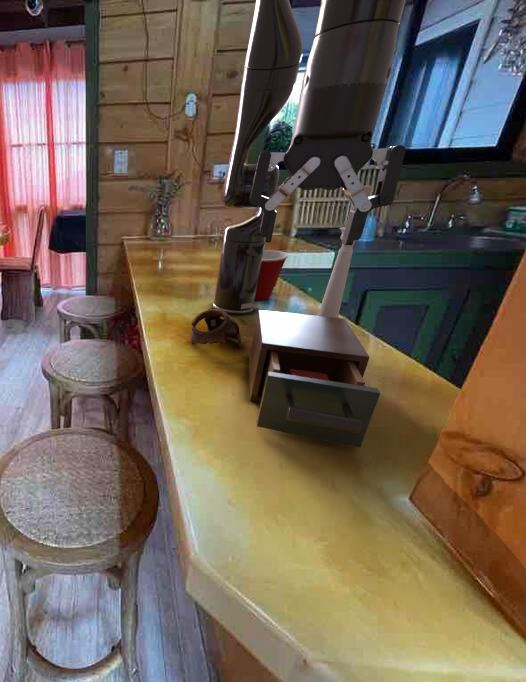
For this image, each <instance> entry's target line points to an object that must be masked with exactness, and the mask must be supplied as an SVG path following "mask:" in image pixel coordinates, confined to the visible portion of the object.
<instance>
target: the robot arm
mask: <svg viewBox="0 0 526 682" xmlns="http://www.w3.org/2000/svg"><path fill="white" fill-rule="evenodd" d="M406 1H407V0H321V1H320V6H319V13H318V16H317V21H316V26H315V32H314V39H313V42H312V45H311V49H310V52H309V55H308V58H307V62H306V65H305V69H304V75H303V78H302V83H301V90H300V94H299V100H298V105H297V110H296V115H295V121H294V125H293V129H292V135H291V139H290V144H289V146H288V148H287V150H286V151H283V152H282V151H270V150H267V149H265V150H263V151H262V152H260V154H259V155H258V159H257V163H246V161H247V158H248V156H249V154H250V152H251V150H252V148H253V147H254V145H255V144H256V142H257V141H258V139H259V137H260V136H261V135H262V134H263V132H264V131H265V130H266V129H267V128H268V127H269V125H271V123H272V122H273V121H274V120H275V118H276V117H277V116H278V115H279V113H280V112H282V110H283V108H284V107H285V106H286V105H287V103H288V102H289V100H290V98H291V96H292V95H293V92H294V90H295V86H296V82H297V79H298V75H299V71H300V65H301V62H302V58H303V53H304V42H303V37H302V34H301V30H300V27H299V25H298V24H299V23H298V22H297V19H296V16H295V13H294V11H293V9H292V6H291V2H290V0H255V5H254V13H253V18H252V24H251V30H250V34H249V39H248V46H247V51H246V55H245V61H244V66H243V72H242V79H241V85H240V91H239V92H240V93H239V99H238V106H237V115H236V123H235V130H234V135H233V140H232V144H231V149H230V154H229V158H228V163H227V168H226V173H225V177H224V181H223V187H222V195H221V196H222V204H223V206H224V207H225V208H226V209H233V210H234V209H235V210H240V209H241V210H247V209H249V210H251V209H252V210H254V209H255V210H254V212H253V213H252V214H251V215H249V217H247V218H245V219H243V220H240V221H237V222H233V223H230V224H229V225H226V226H225V227H224V230H223V237H222V244H221V252H220V257H219V263H218V264H219V265H218V272H217V277H216V285H215V292H214V299H213V300H214V301H213V303H212V307H215V308H216V309H220V310H223V311H225V312H226V313H227V314H229V315H231V314H232V315H246V314H250V313H252V312H253V311H254V303H255V294H256V289H257V284H258V278H259V273H260V268H261V262H262V257H263V251H264V250H265V247H266V246H265V245H266V243H272V239H273V234H274V229H275V224H276V219H277V215H278V211H277V207H278V206H279V205H280V204H281V203H282V202H283V201H284V200H285V199H286V198H287V197H288V196H289V195H291V194H292V193H293V192H294V191H295V189H297V188H299V190H300V189H301V190H302V191H313V190H318V189H321V190H326V191H336V190H337V189H340V188H341V190H342V191H343V193H344V194H345V196H346V197H347V199H348V200H349V202H350V204H351V205H352V206H353V207H354V208H353V211H350V210H349V212H350V213H348V216H349V217H348V216H347V220H346V223H347V224H345V227H346V228H345V231H344V235H343V239H342V240H341V245H342V244H344V245H352V244H353V242H354V240H357V241H360V239H361V238H362V235H363V232H364V231H363V229H365V226H366V222H367V218H368V215H369V213H370V212H371V211H372V210H374V209H377V208H381V207H387V206H390V205H392V204H393V202H394V200H395V195H396V191H397V187H398V183H399V179H400V175H401V171H402V166H403V162H404V160H405V159H404V158H405V155H406V150H407V149H406V147H405V145H402V144H398V145H397V144H396V145H391V146H388V147H382V148H373V146H372V138H373V135H374V134H373V133H374V130H375V126H376V123H377V119H378V116H379V112H380V109H381V104H382V102H383V97H384V93H385V89H386V86H387V82H388V81H389V79H390V76H391V72H392V70H393V69H392V68H393V67H392V64H393V61H394V56H395V52H396V46H397V38H398V32H399V27H400V23H401V20H402V15H403V12H404V8H405V4H406ZM370 160H373V161H374V167H375V169H377V170H379V173H378V176H377V177H378V178H377V182H376V187H375V191H374V195H371V196H369V197H368V196H367V195H366V193H365V191H364V188H363V186H364V185H363V184H362V182H361V180H360V178H359V177H358V175H357V173H358V172H359V171H361V170H362V169H363V168H364V167H365V166H366V165H367V164H368V163H369V162H370ZM280 162H282V163H283V165H284V167H285V169H286V171H287V173H288V174H289V175H288V177H287V178H286V179H285V180H284V181H282V183H281V184H280V185H279V180H280V169H279V166H278V164H279V163H280Z"/></svg>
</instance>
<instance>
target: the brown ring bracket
mask: <svg viewBox="0 0 526 682" xmlns="http://www.w3.org/2000/svg"><path fill="white" fill-rule="evenodd" d="M202 320H204V323H205V324H206V327H207V331H204V330H199V329H197V328H196V327H197V325H198V324H199V322H201V321H202ZM191 326H192V327H191V330H190V334H189V337H190V342H191V344H192V345H193V344H201V345H207V344H215V343H218V342H220V343H222V344H226V338H230V339H233V340H235V341H236V342H237V343H238V347H239V348H242V335H241V332H240V325H239V323H238V322H237V320H236V319H235V318H234V317H232V316H231V315H230V314H229V313H226V312H225V311H223V310H220V309H216V308H215V307H213V306H211V307H209V308H208V309H206V310H204V311H202V312H200V313H198V314H197V315H196V316H195V317H194V318H193V319H192V320H191Z"/></svg>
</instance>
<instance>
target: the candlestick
mask: <svg viewBox="0 0 526 682" xmlns="http://www.w3.org/2000/svg"><path fill="white" fill-rule="evenodd" d="M362 186H363V188H364V191H365V193H366V195H367V196H368V197H370V194H371V190H372V185H366V182H364V184H363V185H362ZM353 208H354V207H353V206H352V204H351V205H350V209H349V213H350V211H353ZM349 213H348V214H349ZM348 217H349V215H347V218H348ZM346 224H347V222H346ZM346 224H345V225H346ZM345 228H346V226H345V227H344V226H343V227H339V230H340V231H341V235H340V240H341V241H342V239H343V235H344V231H345ZM365 230H366V229H365V228H364V229H363V232H364V231H365ZM357 241H358V240H354V242H353V244H352V245H344V244H342V243H341V247H340V248H339V249H338V253H337V256H336V259H335V262H334V265H333V268H332V271H331V274H330V277H329V280H328V283H327V285H326V289H325V292H324V295H323V297H322V302H321V304H320V307H319V310H318V313H317V316H323V317H333V318H339V315H340V310H341V306H342V301H343V298H344V292H345V288H346V284H347V279H348V275H349V271H350V265H351V262H352V257H353V253H354V250H353V248H354V245H355V244H356V242H357Z"/></svg>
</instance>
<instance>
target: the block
mask: <svg viewBox="0 0 526 682" xmlns="http://www.w3.org/2000/svg"><path fill="white" fill-rule="evenodd" d="M288 375H294V376H301V377H307V378H314V379H320V380H327V381H329V379H328V376H327V374H324V373H317V372H310V371H303V370H296V369H290V370H289V374H288Z"/></svg>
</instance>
